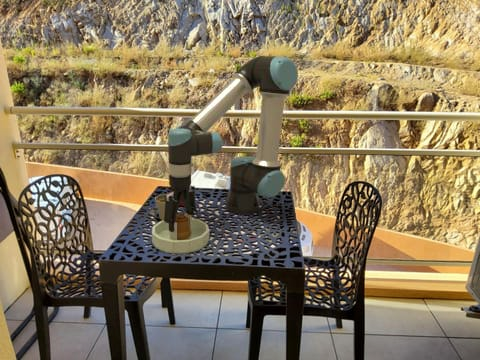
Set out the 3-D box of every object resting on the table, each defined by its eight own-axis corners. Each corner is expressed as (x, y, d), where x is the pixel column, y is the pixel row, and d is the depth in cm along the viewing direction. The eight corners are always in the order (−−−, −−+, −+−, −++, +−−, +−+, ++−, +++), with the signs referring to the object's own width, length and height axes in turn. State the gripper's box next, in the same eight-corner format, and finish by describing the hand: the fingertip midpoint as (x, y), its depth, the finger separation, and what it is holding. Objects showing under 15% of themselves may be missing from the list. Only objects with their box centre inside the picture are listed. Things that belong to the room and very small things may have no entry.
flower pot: (173, 223, 153) (173, 203, 151) (151, 220, 155) (150, 200, 152) (181, 214, 162) (181, 195, 159) (160, 212, 164) (160, 193, 161)
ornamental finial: (189, 240, 136) (168, 240, 136) (192, 231, 143) (172, 231, 143) (189, 219, 133) (168, 219, 133) (192, 211, 140) (171, 211, 140)
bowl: (205, 227, 151) (206, 216, 149) (211, 251, 132) (211, 240, 131) (153, 229, 147) (153, 218, 146) (151, 255, 129) (150, 242, 127)
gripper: (189, 166, 142) (190, 222, 149) (150, 179, 126) (153, 242, 132) (206, 169, 139) (206, 227, 146) (168, 184, 122) (170, 248, 129)
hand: (180, 234), depth 139 cm, fingers open, 7 cm apart
